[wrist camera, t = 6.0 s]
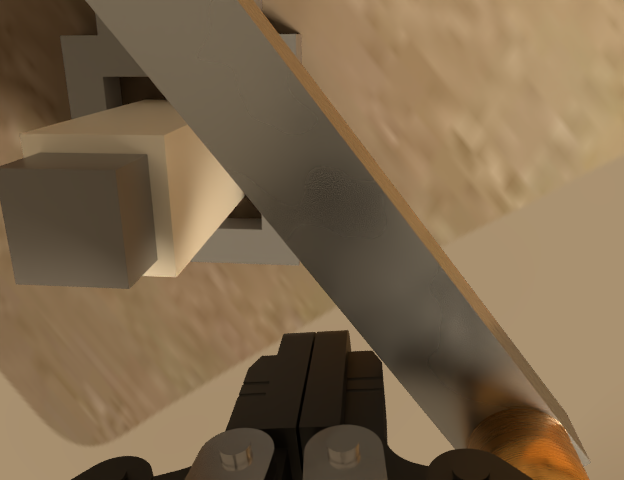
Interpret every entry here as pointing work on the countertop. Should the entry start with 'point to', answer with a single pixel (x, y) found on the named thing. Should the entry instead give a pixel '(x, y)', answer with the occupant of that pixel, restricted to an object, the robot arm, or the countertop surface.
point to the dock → (107, 94)
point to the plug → (112, 198)
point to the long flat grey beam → (347, 225)
